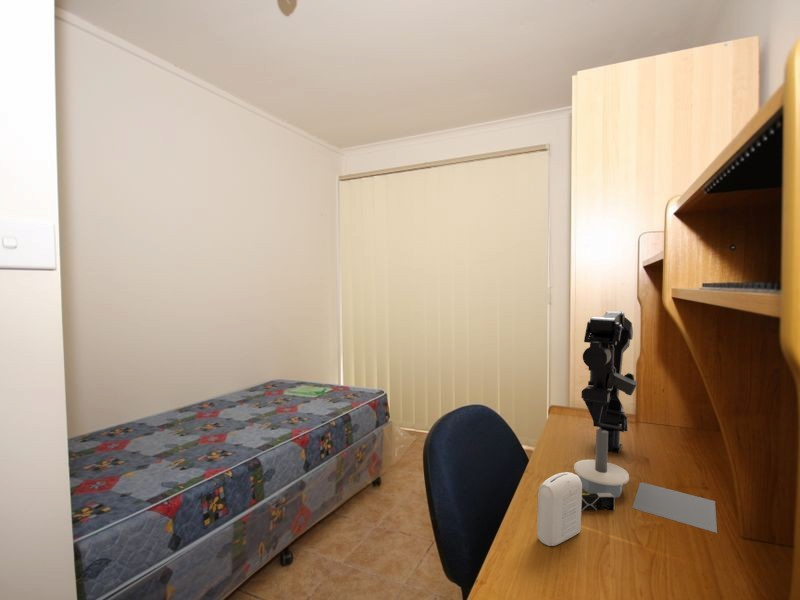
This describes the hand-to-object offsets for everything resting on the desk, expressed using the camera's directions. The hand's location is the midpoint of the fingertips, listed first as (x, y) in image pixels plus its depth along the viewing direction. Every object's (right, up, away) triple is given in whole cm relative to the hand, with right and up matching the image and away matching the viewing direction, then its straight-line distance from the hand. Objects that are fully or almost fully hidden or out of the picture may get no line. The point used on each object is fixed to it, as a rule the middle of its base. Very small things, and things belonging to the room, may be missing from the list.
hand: (600, 419), depth 113 cm
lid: (-6, -10, -13) cm, 17 cm away
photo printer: (-23, -15, -31) cm, 41 cm away
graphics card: (-14, -14, -22) cm, 29 cm away
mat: (+7, -14, -20) cm, 25 cm away
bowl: (-6, -14, -12) cm, 19 cm away
